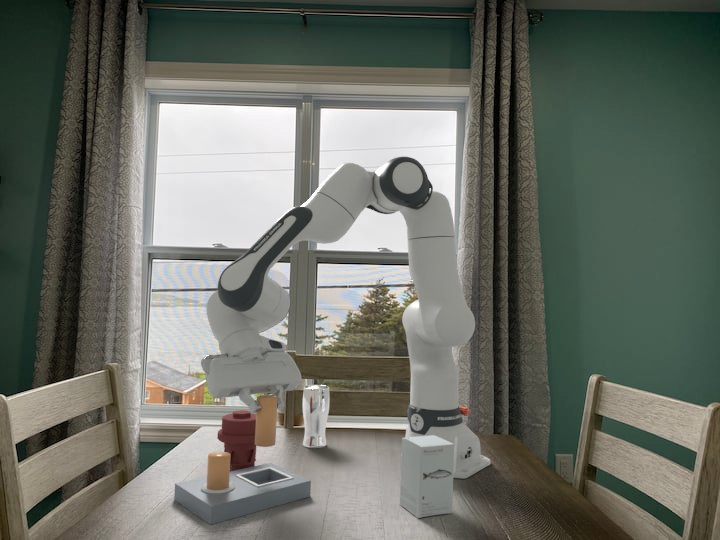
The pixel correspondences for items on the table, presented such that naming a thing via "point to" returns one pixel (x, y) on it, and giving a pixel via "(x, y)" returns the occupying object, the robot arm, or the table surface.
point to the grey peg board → (239, 489)
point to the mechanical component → (239, 438)
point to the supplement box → (427, 475)
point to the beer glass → (315, 415)
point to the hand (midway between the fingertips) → (268, 409)
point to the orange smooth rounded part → (266, 421)
